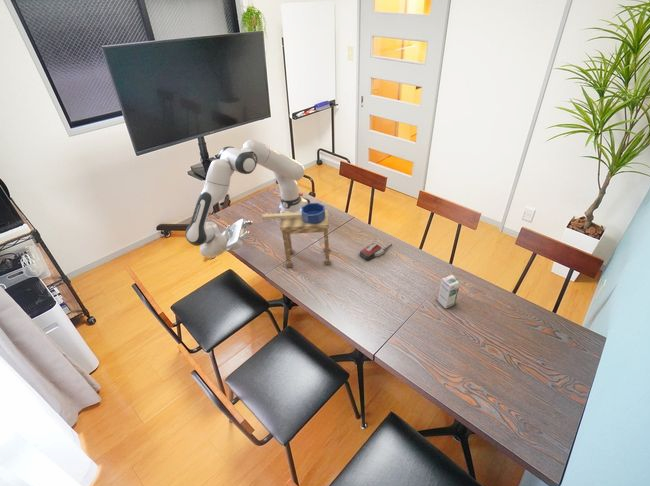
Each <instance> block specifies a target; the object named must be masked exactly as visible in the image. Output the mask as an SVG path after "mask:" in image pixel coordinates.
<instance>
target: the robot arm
mask: <svg viewBox="0 0 650 486" xmlns="http://www.w3.org/2000/svg"><path fill="white" fill-rule="evenodd" d="M257 165H259V166H261V167H263V168H265V169H267V170H269V171H271V172H272V174H273V176H274V177H275V180H276V182H277V185H278V188H279V193H280V198H279V200H280V202H279V203H280V205H279V206H278V208H279V209H280V210H279V213H282V212H286V211H301V210H302V207H303V206H304V205H306V204H308V203H311V200H310V199H308V198H306V197H303V195H304V193H303V192H299V184H298V181H300V180H302V179H303V177H304V176H305V172H306V171H305V167H304V165H303V164H301V163H300V162H298V161H297V160H295V159H294V158H291V157H289V156H287V154H286V155H285V154H284V153H282V152H279V151H277V150H276V149H274V148H273V147H270V146H269V145H267V144H265V143H263V142H261V141H259V140H255V139H248V140H246V141H244V142H243V145H242V148H237V147H234V146H224V147H222V148H221V150H220V151H219V153H218V155H217V157H216V159H214V160H212V161H211V162H210V164H209V167H208V169H207V172H206V176H205V181H204V186H203V188H202V190H201V193H200V194H199V196H198V199H197V201H196V204H195V206H194V207H195V208H194V211H193V214H192V217H191V221H190V222H189V224H188V226H187V227H186V229H185V231H184V232H185V233H184V234H185V239H186V241H187V242H188V243H189V244H190V245H192V246H193V247H199V246H200V247H199V253H200V254H201V256H203V257H204V258H206V259H214V258H216V257H219V256H220V255H223V254H224V253H225V252H230V251H231V252H232V251H235V250H237V249H239V248H241V247H242V246H243V243H244V240H245V239H246V238H247V237H249V236H250V235H251V232H250V231H249V230H247V229H248V226H251V225H253V223H254V221H253V220H252V219H249V220H246V219H245V218H241V219H239V220H237V221H235V222H233V223H232V225H231V224H228V225H227V227H225V229H224V230H223V231H222V232H221V228H220V227H219V225H218V224H217V223H216V222H214V221H207V220H208V217H209V213H210V211H211V209H212V208H213V207H214V206H215V205H216V204H218V203H219V202H221V201H222V200H224V199H225V198H226V196H227V195H228V192H229V190H230V184H231V178H232V175H233V174H234V173H235V172H237V173H240V174H242V175H249V174H251V173H253V172H254V171H255V169H256V168H257Z"/></svg>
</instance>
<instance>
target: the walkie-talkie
mask: <svg viewBox="0 0 650 486" xmlns="http://www.w3.org/2000/svg"><path fill="white" fill-rule="evenodd" d="M391 247H393V244H392V243H390V244H389V245H388V246H386V247H384V248H382V246H380V245H378V243H376V242H372V243H371V244H369V245H367V246H366V247H364V248H363V249H361V250H359V256H360V257H361V258H363V259H364V260H365V261H369V260H371V259H373V258H374V257H380V256H382V255H383V254H385V251H387V250H388V249H389V248H391Z"/></svg>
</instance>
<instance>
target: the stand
mask: <svg viewBox="0 0 650 486" xmlns="http://www.w3.org/2000/svg"><path fill="white" fill-rule="evenodd" d="M328 211H329V210H328V209H326V208H325V219H324V220H323V221H322V222H320V223H316V224H309V223H306V222H305V221H304V220H303V219H302V217H301V218H282V219H280V223H279V224H280V225H279V230H280V231H281V235H282V242H283V247H284V253H285V254H284V255H285V260H286V266H287V268H292V266H293V264H292V258H291V255H292V254H293V252H294V251H293V244H292V236H291V235H297V234H313V233H315V234H316V233H323V240H324V242H323V244H324V256H325V257H324V259H325V266H330V263H331V262H330V245H329V228H330V226H329V225H330V224H329V212H328ZM294 212H301V211H286V212H282V213H294Z"/></svg>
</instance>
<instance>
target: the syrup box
mask: <svg viewBox="0 0 650 486" xmlns="http://www.w3.org/2000/svg"><path fill="white" fill-rule="evenodd" d="M460 285H461V281H460V280H459V279H458V278H457V277H456V276H454V275H453V274H450V275H448V276H445V277H443V278H441V282H440V285H439V291H438V296H437V302H438V303H439V304H440V305H441V306H442V307H443V308H444V309H447V308H451V307H453V306H454V305H456V301H457V297H458V294H459V290H460Z"/></svg>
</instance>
